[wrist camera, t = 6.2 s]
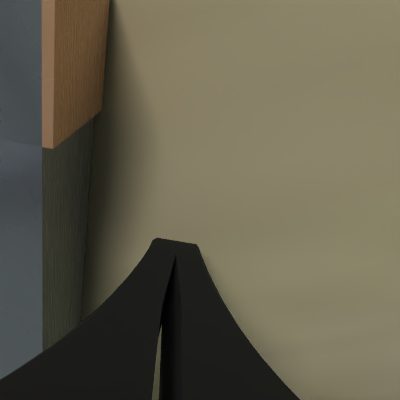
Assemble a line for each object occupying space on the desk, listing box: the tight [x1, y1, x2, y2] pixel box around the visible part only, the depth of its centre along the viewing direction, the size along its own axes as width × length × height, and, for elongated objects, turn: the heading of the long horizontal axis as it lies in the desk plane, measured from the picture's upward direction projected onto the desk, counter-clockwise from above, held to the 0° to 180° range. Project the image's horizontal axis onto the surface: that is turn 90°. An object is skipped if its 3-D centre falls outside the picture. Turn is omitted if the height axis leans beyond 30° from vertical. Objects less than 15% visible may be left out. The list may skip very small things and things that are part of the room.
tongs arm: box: [0, 0, 110, 379], centre depth 10 cm, size 15×2×4 cm, turn 168°
